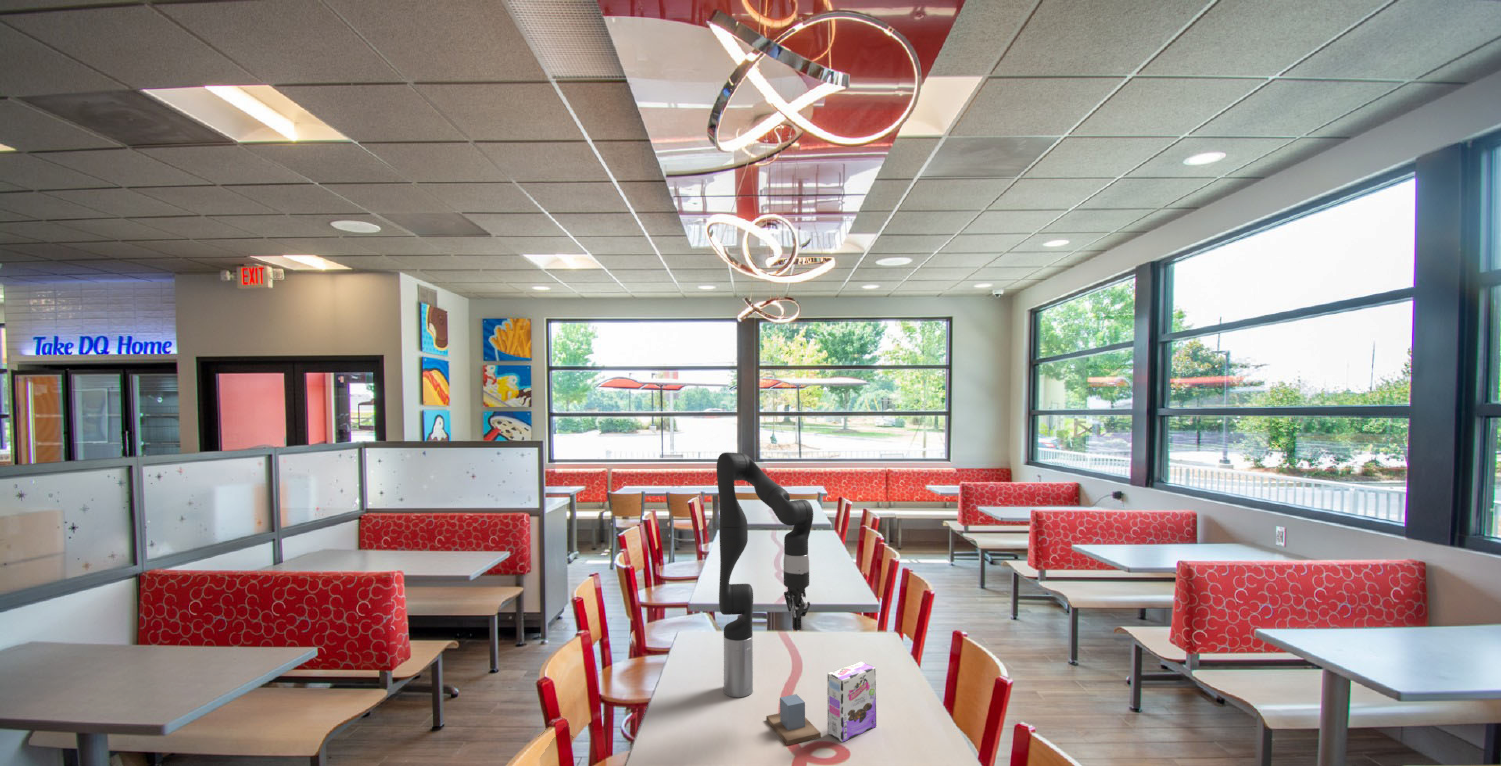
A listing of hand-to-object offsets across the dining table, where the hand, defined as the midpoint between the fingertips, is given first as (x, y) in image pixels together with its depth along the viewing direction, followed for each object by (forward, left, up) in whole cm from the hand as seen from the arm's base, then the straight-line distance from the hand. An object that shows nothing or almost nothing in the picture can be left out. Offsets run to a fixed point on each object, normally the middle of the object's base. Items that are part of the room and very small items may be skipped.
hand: (796, 629), depth 173 cm
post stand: (+5, -4, -25) cm, 26 cm away
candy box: (+12, +11, -25) cm, 30 cm away
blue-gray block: (+5, -4, -24) cm, 25 cm away
